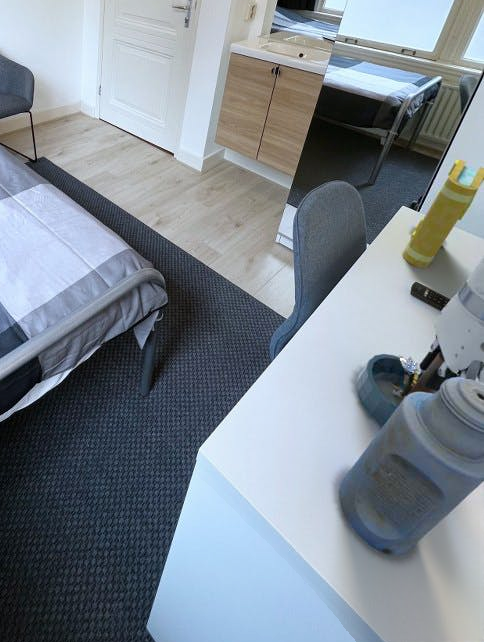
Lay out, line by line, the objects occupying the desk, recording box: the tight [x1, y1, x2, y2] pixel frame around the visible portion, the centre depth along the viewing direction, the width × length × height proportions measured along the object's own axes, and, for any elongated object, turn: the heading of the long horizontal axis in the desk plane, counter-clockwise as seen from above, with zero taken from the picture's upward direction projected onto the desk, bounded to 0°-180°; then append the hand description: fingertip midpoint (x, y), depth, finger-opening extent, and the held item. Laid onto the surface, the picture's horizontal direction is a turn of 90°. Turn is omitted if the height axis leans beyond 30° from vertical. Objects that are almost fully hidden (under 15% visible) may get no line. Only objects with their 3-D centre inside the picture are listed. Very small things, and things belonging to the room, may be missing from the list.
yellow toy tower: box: [402, 158, 484, 269], centre depth 109 cm, size 17×7×25 cm, turn 133°
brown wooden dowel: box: [405, 352, 452, 397], centre depth 71 cm, size 3×3×15 cm
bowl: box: [355, 353, 425, 427], centre depth 75 cm, size 13×13×6 cm
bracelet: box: [392, 354, 421, 399], centre depth 77 cm, size 7×3×8 cm, turn 147°
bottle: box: [338, 377, 484, 556], centre depth 54 cm, size 10×10×30 cm
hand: (432, 379), depth 70 cm, fingers closed on brown wooden dowel, 2 cm apart
